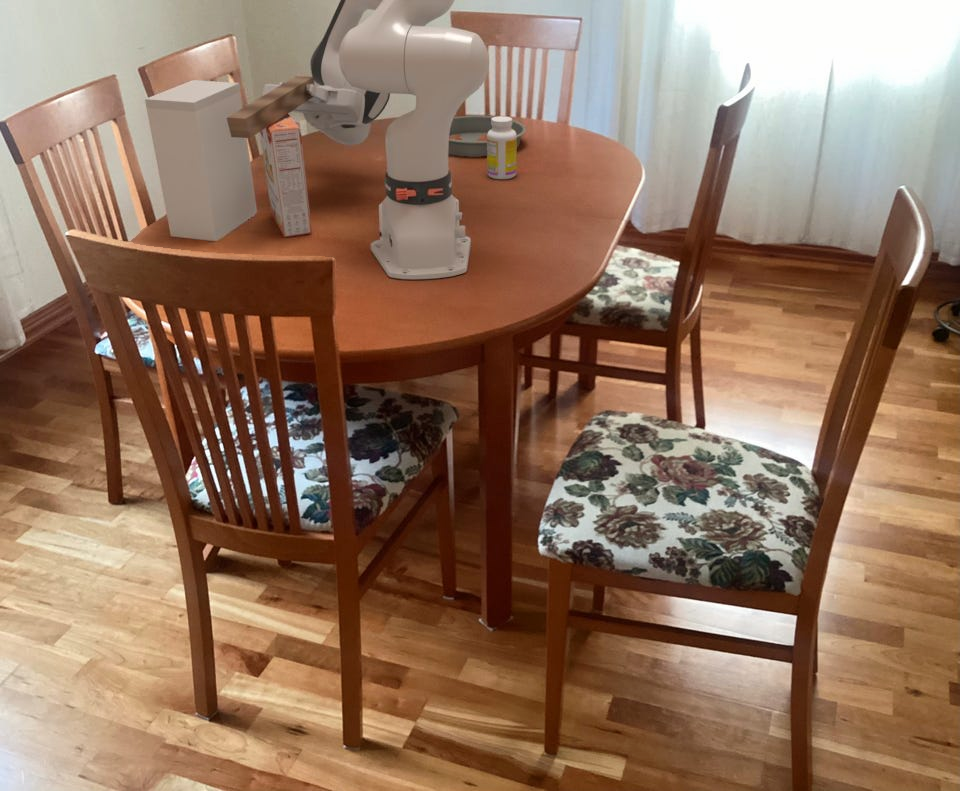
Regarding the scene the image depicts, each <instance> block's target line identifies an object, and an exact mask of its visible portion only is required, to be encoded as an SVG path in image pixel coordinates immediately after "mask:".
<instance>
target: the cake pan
mask: <svg viewBox="0 0 960 791" xmlns="http://www.w3.org/2000/svg"><path fill="white" fill-rule="evenodd" d="M493 117H495V116H494V115H492V116H490V115H462V116H454V118H453V121H452V124H451V128H450V134H449V136H452V135H461V136H460V137H459V138H461V139H462V140H455V139H449V149H448V155H451V156H455V155H457V157H464V156H468V157H467V158H482V157H481V156H487V141H477V140H478V139H479V138H481V137H484V136H479V135H482V134H484V133H486V134H487V133H488V132H489V130H491V129H492V125H491V119H492V118H493ZM511 129H513V130H514V131H515V132H516V135H517V147H518V148H519V146H520V143H521V139H522V136H523V135H524V134H525V133H526V132H527V127H526V125H524V124H523V123H521V122H520V121H517V120H514V119H512V126H511ZM486 136H487V135H486ZM454 137H455V136H454Z"/></svg>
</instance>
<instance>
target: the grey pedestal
mask: <svg viewBox="0 0 960 791" xmlns="http://www.w3.org/2000/svg"><path fill="white" fill-rule="evenodd" d="M144 103H145V106H146V112H147V117H148V123H149V129H150V133H151V138H152V143H153V150H154V154H155V159H156V165H157V171H158V175H159V182H160V185H161V190H162V197H163V201H164V206H165V213H166V218H167V222H168V227H169V228H168V229H169V232H170V237H176V238H184V239H192V240H201V241H209V242H210V241H211V242H218V241H219V240H221V239H223V238H224V237H225V236H228V234H230V233H231V232H232V231H234V230H235V229H237V228H238V227H240V226H242V225H243V224H244V223H246V222H247V221H249V220H250V219H252V218H253V217H254V216H256V215H257V214H258V210H257V209H258V208H257V202H256V201H257V200H256V194H255V187H254V180H253V174H252V167H251V166H252V165H251V158H250V150H249V145H248V144H249V143H248V138H238V137H231V133H230V129H229V126H228V122H227V117H229V116H231V115H232V114H234V113H236V112H237V111H239V110H241V109H242V108H244V107H243V99H242V94H241V86H240V82H226V81H214V80H213V81H211V80H197V79H193V80H191V81H187V82H185V83H182V84H180V85H177V86H175V87H173V88H172V87H171V88H169V89H168V90H165V91H162V92H159V93H157V94H155V95H152V96H149V97H146V98H144ZM256 213H257V214H256ZM255 214H256V215H255ZM251 217H252V218H251ZM248 219H249V220H248Z"/></svg>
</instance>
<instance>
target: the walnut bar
mask: <svg viewBox="0 0 960 791" xmlns="http://www.w3.org/2000/svg"><path fill="white" fill-rule="evenodd" d="M283 83H284V84H282V85H281V86H279V87H277V88H276V89H274V90H272V91H271V92H269V93H267V94H266V95H264V96H262V95H261V96H260V97H259V98H257V99H256V100H254V101H252V102H251V103H249V104H247V105H245V106H244V107H243V108H242V109H241V110H239V111H237V112H236V113H234V114H232V115H231V116H229V117H227V122H228V126H229V129H230V133H231V137H238V138H247V139H252V137H254V136H256V135H257V134H260V131H262V130H263V129H265V128H267V127H268V126H270V125H271V124H273V123H274V122H276V121H277V120H279V119H280V118H282V117H283V116H285V115H287V114H290V113H292V112H291V111H293V110H294V109H296V108H297V107H299V106H300V105H302V104H303V103H305V102H306V101H308V100H310V99H311V98H313V97H314V96H309V95H307V94H306V93H305V89H306V84H314V85H315V86H316V82H315V81H314V78H313V76H300V75H299V76H294V77H292V78H291V79H289V80H286V82H283Z"/></svg>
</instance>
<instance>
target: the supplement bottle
mask: <svg viewBox="0 0 960 791" xmlns="http://www.w3.org/2000/svg"><path fill="white" fill-rule="evenodd" d="M512 120H513V118H512V117H511V116H501V115H500V116H494V117H493V118H492V119H491V125H492V129H491V130H489V132H488V133H487V157H486V164H487V165H486V166H487V168H486V171H487V176H488V177H489V178H491V179H493V180H508V179H513V178H514V177H515V176H516V175H517V161H518V160H517V157H518V156H517V153H518V151H517V149H518V148H517V135H516V132H515V131H514V130H513V129H511V126H512Z"/></svg>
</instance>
